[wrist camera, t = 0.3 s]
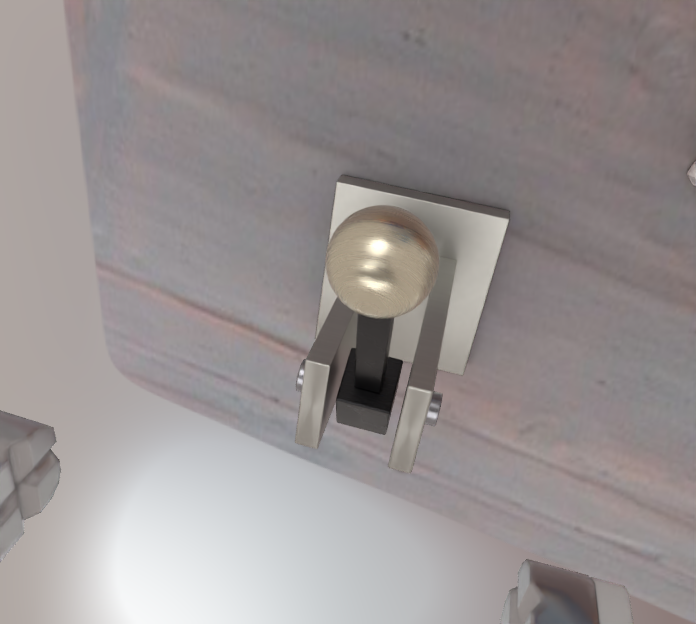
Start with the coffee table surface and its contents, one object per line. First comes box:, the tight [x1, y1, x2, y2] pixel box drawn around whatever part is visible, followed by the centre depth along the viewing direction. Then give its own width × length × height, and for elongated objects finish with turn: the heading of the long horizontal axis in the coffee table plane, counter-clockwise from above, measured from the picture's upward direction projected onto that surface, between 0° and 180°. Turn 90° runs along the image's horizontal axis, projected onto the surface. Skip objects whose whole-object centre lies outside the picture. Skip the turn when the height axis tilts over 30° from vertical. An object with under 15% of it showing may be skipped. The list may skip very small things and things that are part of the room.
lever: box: [326, 205, 439, 435], centre depth 22 cm, size 13×3×3 cm, turn 171°
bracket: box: [295, 175, 510, 473], centre depth 31 cm, size 10×9×13 cm
